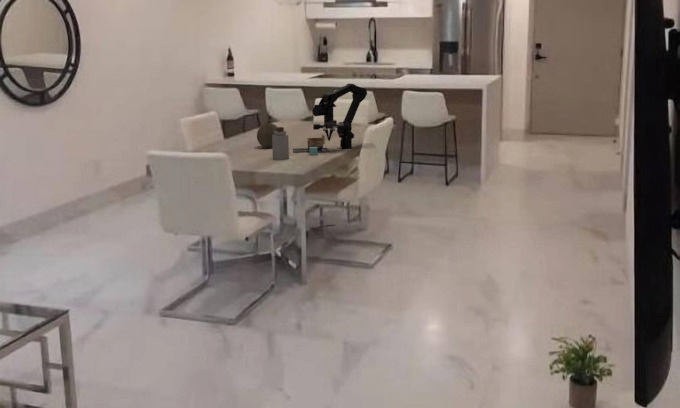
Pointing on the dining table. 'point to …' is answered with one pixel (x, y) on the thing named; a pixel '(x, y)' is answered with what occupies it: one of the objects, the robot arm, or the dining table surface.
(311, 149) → the block
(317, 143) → the cart
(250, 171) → the dining table surface
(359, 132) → the dining table surface
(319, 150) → the rail
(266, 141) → the cantaloupe
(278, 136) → the perfume bottle
